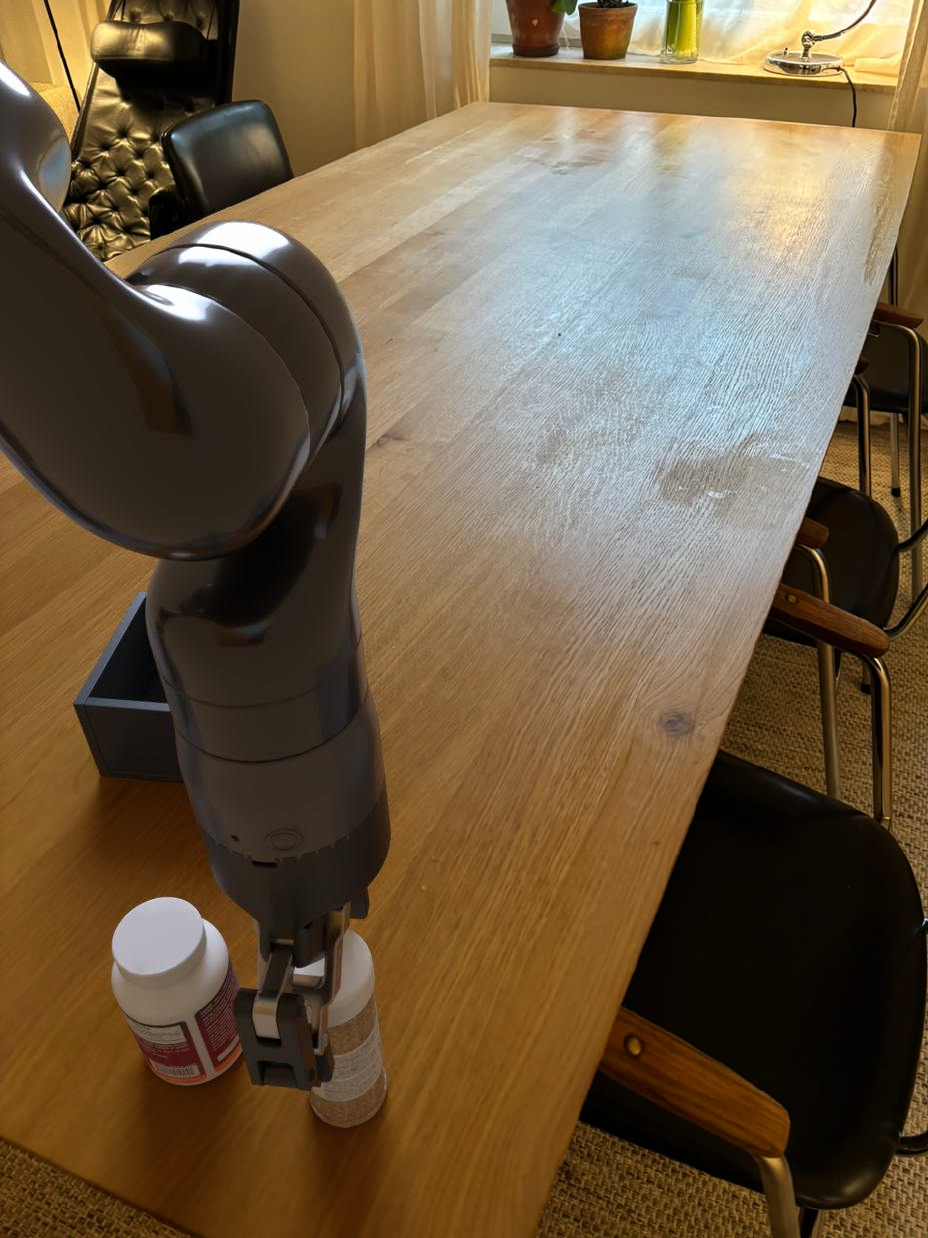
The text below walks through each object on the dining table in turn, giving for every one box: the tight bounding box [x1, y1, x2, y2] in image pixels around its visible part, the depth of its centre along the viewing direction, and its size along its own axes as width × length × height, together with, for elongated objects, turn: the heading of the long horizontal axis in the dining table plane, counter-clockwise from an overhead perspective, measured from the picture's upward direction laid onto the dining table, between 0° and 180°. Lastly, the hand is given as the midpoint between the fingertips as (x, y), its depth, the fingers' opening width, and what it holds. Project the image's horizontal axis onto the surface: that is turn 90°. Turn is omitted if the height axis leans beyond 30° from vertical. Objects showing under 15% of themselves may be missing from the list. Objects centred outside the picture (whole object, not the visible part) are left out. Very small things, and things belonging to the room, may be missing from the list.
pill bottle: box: [110, 896, 243, 1086], centre depth 55 cm, size 6×6×11 cm
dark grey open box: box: [72, 590, 185, 784], centre depth 76 cm, size 13×13×8 cm
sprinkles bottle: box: [294, 928, 388, 1129], centre depth 52 cm, size 5×5×13 cm
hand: (331, 988), depth 49 cm, fingers open, 8 cm apart
